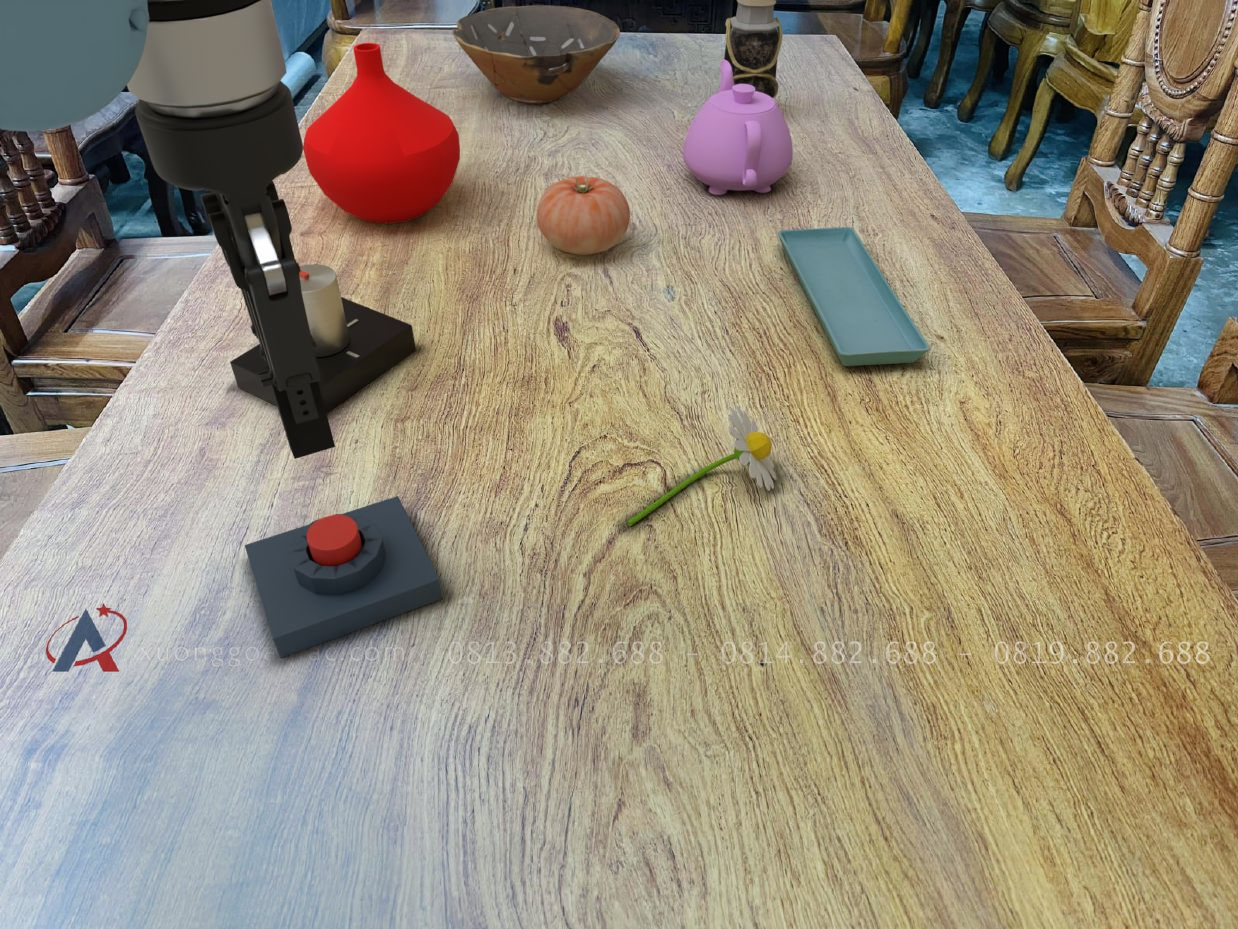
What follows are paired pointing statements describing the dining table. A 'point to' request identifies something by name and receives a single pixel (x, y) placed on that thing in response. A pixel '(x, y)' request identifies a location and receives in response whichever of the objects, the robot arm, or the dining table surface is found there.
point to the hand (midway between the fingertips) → (312, 446)
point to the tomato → (583, 215)
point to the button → (334, 540)
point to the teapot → (738, 139)
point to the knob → (324, 309)
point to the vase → (382, 147)
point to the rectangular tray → (852, 297)
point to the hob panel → (342, 357)
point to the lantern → (754, 45)
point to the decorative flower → (746, 449)
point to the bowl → (536, 48)
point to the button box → (342, 579)
